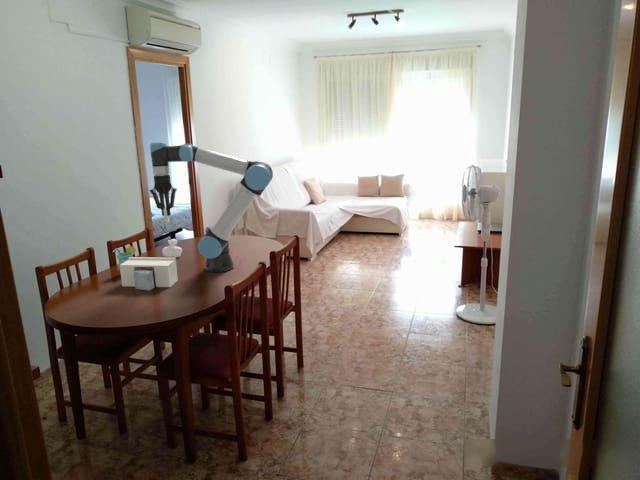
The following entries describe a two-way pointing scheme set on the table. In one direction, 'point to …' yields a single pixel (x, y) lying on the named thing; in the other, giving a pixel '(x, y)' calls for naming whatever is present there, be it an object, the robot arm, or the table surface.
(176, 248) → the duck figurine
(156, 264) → the console
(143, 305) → the table surface
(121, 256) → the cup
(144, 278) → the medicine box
